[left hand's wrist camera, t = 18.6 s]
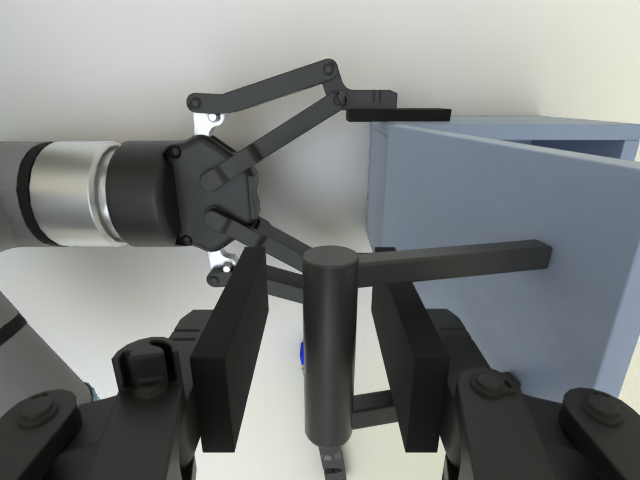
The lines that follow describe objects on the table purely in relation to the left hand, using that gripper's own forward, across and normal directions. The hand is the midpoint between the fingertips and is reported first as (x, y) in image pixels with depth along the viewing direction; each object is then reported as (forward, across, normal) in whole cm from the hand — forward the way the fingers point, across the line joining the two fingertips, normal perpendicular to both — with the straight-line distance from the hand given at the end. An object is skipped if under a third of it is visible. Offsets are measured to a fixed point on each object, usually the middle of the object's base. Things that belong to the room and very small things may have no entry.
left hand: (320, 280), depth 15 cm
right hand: (+14, -8, 0) cm, 16 cm away
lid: (+2, -6, 0) cm, 7 cm away
